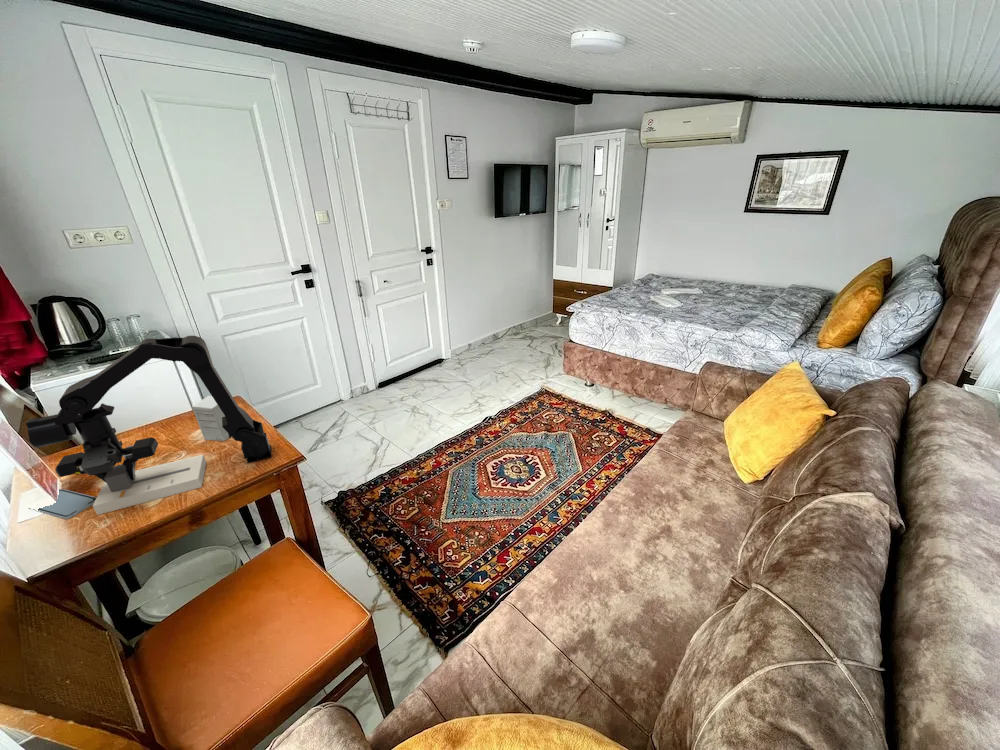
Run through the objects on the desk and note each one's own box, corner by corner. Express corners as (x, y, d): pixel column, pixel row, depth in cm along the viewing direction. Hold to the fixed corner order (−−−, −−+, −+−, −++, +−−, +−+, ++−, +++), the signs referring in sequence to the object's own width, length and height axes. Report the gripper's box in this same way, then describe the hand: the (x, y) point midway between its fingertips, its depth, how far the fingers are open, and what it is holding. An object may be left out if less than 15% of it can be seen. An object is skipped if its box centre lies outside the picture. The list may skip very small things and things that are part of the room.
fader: (135, 475, 111) (129, 462, 109) (131, 487, 107) (124, 473, 105) (117, 480, 109) (110, 467, 107) (111, 492, 105) (104, 478, 103)
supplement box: (220, 427, 138) (208, 394, 132) (240, 429, 137) (229, 396, 132) (203, 439, 132) (190, 406, 126) (224, 441, 131) (212, 408, 125)
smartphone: (60, 488, 111) (99, 497, 107) (62, 491, 111) (101, 500, 107) (25, 507, 104) (66, 518, 101) (27, 510, 105) (68, 521, 101)
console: (206, 462, 121) (203, 454, 120) (201, 487, 112) (197, 478, 110) (111, 485, 112) (107, 477, 111) (97, 514, 102) (92, 505, 101)
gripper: (30, 462, 90) (64, 514, 97) (136, 439, 98) (160, 489, 105) (51, 436, 99) (80, 485, 106) (147, 417, 107) (168, 464, 114)
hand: (122, 481), depth 108 cm, fingers closed on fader, 4 cm apart
